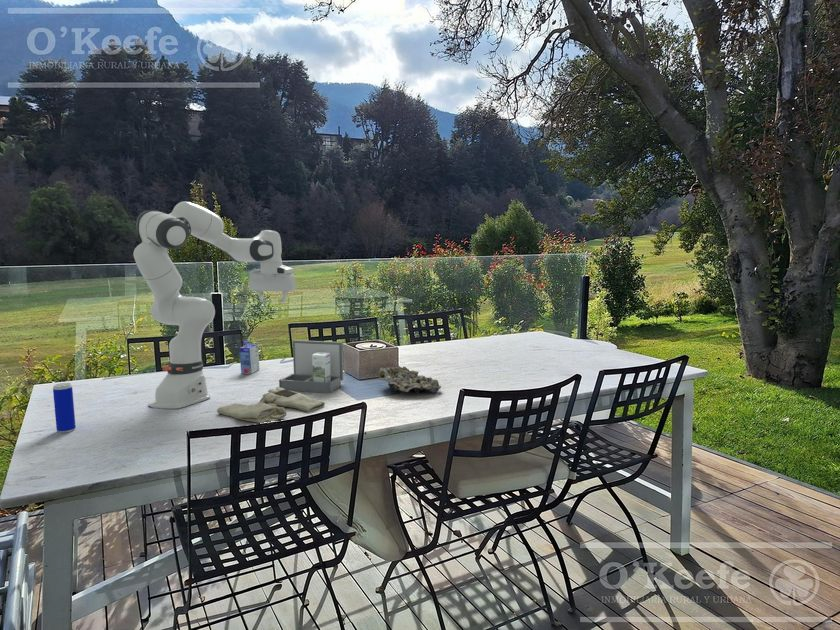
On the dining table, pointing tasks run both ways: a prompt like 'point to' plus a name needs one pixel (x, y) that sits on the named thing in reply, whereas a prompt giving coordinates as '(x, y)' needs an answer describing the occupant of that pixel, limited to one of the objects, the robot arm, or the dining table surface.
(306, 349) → the equipment case
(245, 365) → the ink cartridge box
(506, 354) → the dining table surface
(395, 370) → the decorative rock
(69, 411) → the beverage can
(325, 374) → the syrup box
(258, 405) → the pair of gloves
